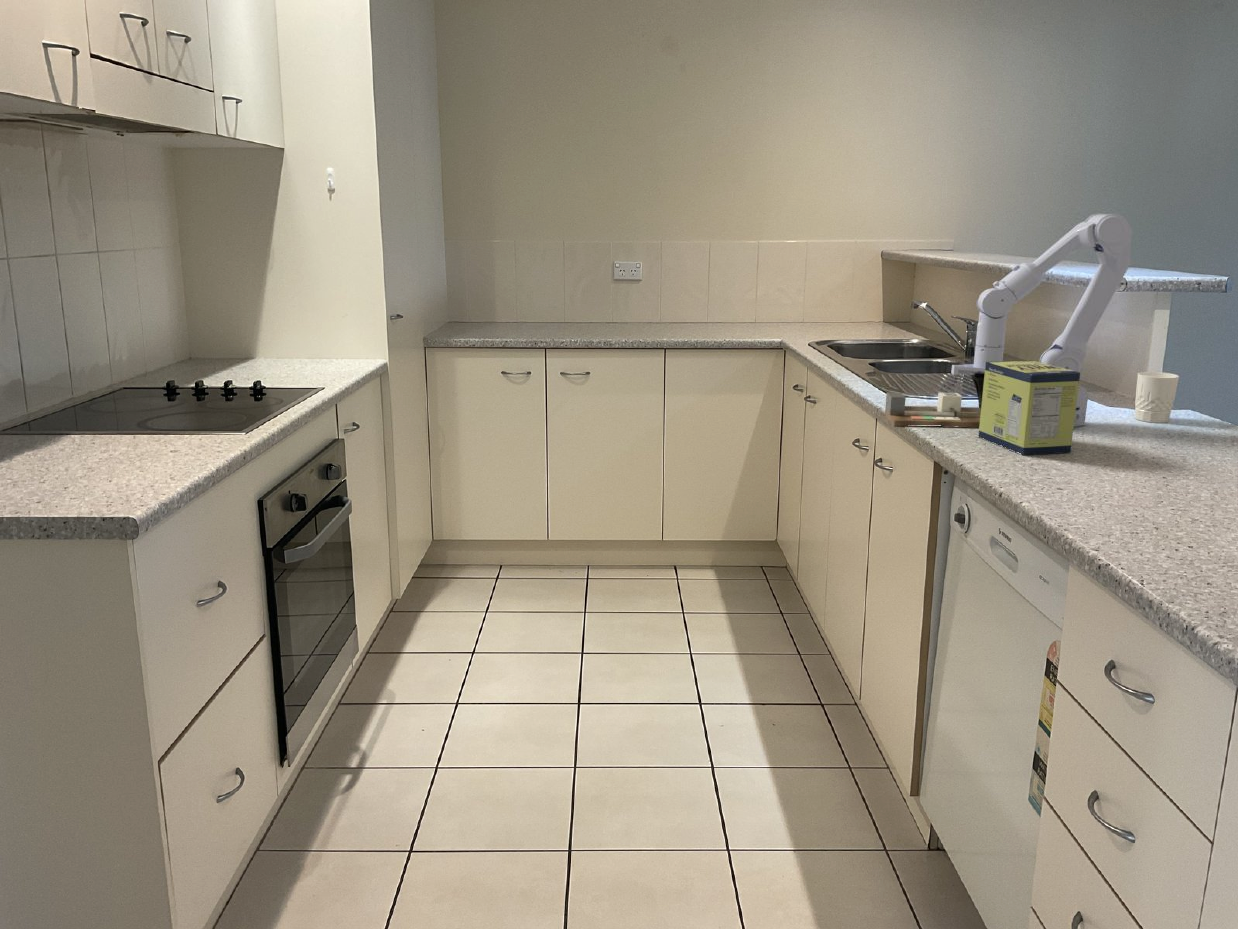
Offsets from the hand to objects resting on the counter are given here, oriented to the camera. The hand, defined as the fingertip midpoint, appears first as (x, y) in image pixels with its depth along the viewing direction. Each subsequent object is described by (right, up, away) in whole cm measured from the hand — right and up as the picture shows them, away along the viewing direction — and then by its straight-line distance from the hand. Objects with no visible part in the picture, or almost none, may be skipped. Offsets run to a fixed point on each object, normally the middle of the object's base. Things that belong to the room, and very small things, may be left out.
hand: (983, 408), depth 211 cm
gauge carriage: (-7, -1, -1) cm, 8 cm away
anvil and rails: (-10, -1, +1) cm, 10 cm away
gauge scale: (-12, -2, -4) cm, 13 cm away
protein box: (0, -9, -21) cm, 23 cm away
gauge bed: (-9, -3, -1) cm, 10 cm away
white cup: (+37, -3, +2) cm, 38 cm away
